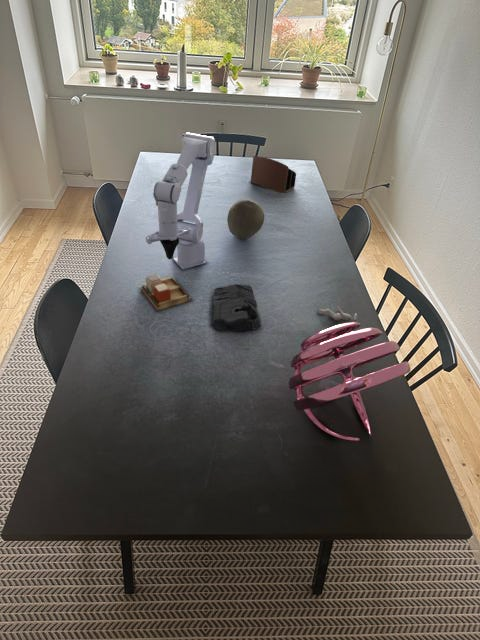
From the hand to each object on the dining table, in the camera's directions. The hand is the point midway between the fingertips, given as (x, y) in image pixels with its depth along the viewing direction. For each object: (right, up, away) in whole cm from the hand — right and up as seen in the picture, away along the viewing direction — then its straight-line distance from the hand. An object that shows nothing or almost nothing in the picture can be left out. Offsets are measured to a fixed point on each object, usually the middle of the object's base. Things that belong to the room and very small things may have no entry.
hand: (169, 257), depth 148 cm
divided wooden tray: (-1, -12, +1) cm, 12 cm away
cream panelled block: (-5, -11, +1) cm, 12 cm away
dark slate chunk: (+22, -17, -3) cm, 28 cm away
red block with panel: (-2, -15, -2) cm, 15 cm away
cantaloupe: (+25, +13, +34) cm, 44 cm away
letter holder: (+39, +46, +75) cm, 96 cm away
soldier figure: (+54, -20, -3) cm, 58 cm away
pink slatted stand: (+47, -44, -32) cm, 72 cm away
